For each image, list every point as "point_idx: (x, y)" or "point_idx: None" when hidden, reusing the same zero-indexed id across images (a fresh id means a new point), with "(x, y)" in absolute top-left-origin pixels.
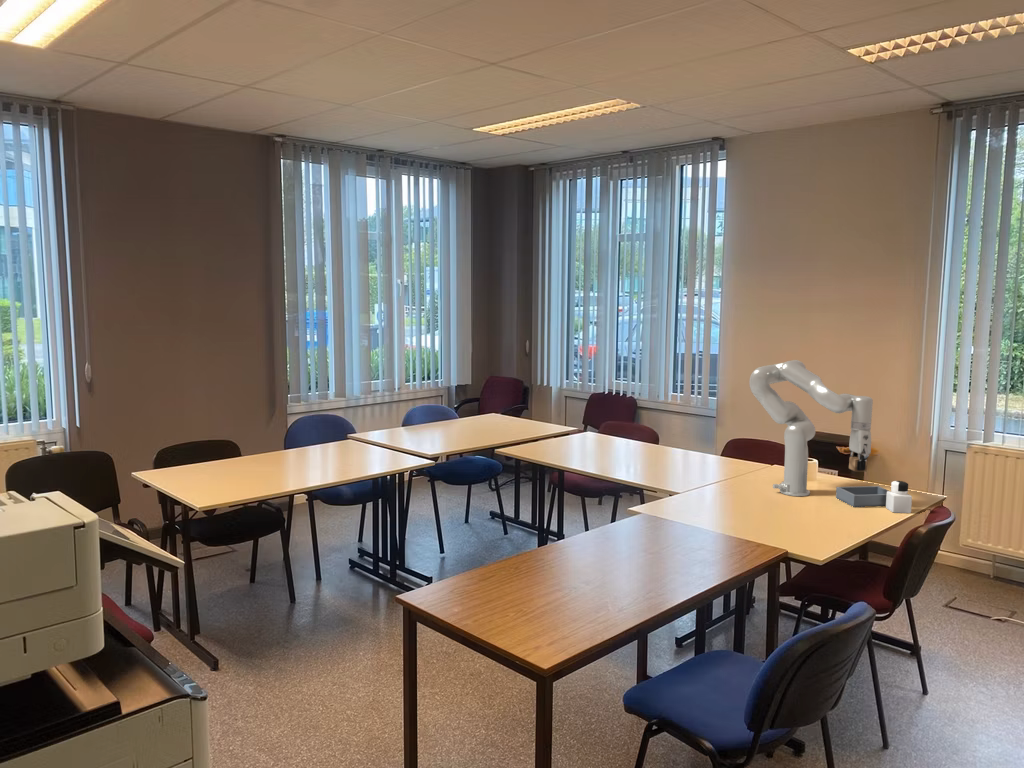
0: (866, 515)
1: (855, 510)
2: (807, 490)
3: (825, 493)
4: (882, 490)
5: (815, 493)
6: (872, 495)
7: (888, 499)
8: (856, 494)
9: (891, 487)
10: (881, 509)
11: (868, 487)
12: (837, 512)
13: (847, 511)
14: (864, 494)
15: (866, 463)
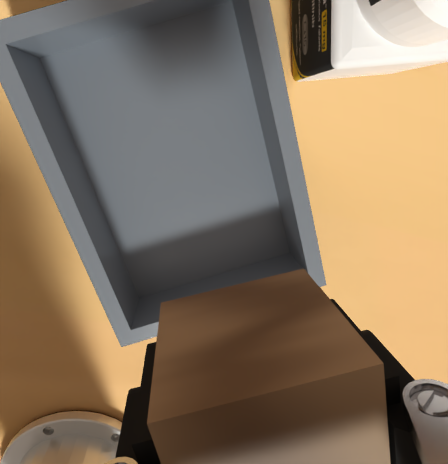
0: (437, 227)
1: (355, 258)
2: (56, 428)
3: (33, 340)
4: (83, 26)
5: (52, 384)
6: (301, 168)
7: (355, 72)
8: (97, 207)
9: (430, 40)
10: (325, 117)
11: (43, 128)
12: (391, 338)
13: (374, 296)
14: (73, 153)
15: (349, 329)
